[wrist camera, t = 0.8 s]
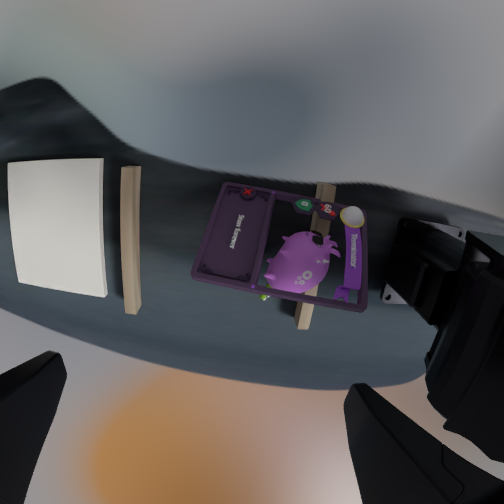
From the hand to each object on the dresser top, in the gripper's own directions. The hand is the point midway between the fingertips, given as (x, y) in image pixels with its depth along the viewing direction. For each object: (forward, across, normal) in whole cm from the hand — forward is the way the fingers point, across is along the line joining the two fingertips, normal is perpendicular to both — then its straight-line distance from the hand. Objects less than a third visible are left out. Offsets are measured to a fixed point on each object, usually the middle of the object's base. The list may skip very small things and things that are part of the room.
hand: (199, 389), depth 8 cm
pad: (+13, +13, 0) cm, 18 cm away
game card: (+11, +1, -1) cm, 11 cm away
